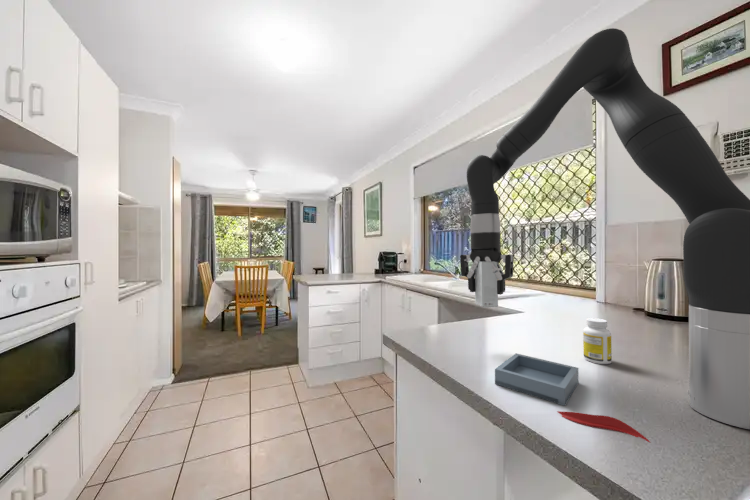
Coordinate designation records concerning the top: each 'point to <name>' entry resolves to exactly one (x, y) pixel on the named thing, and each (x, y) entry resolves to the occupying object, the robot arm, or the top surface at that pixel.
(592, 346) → the supplement bottle
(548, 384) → the tray
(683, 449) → the top surface
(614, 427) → the cayenne pepper
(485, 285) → the skincare box
